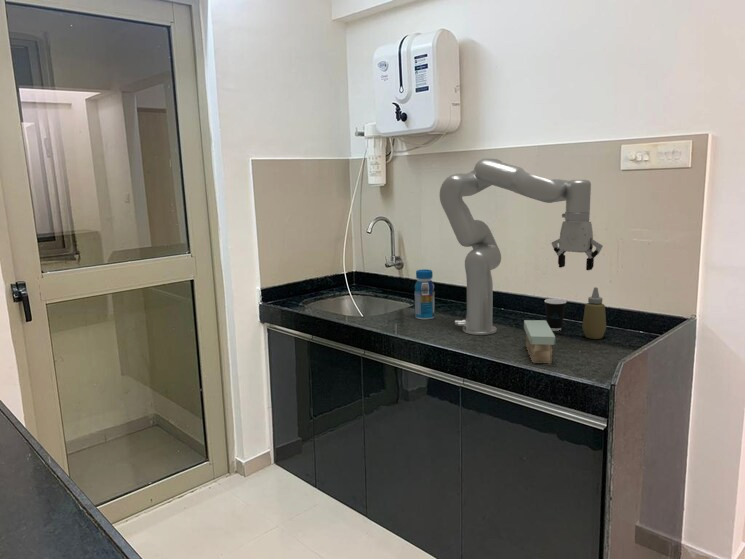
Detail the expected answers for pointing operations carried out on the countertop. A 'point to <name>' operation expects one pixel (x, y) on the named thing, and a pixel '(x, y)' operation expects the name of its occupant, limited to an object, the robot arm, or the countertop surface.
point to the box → (539, 352)
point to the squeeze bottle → (594, 317)
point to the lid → (539, 332)
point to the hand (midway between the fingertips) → (575, 268)
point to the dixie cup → (555, 313)
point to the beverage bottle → (424, 295)
